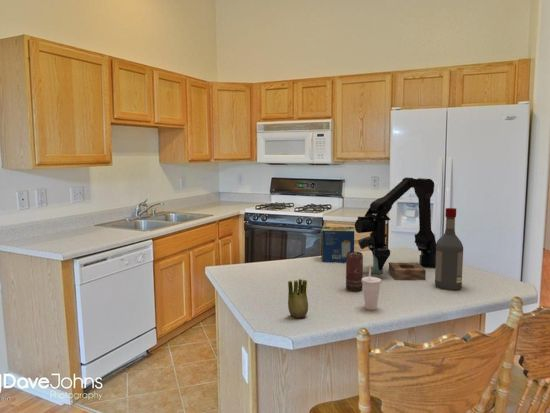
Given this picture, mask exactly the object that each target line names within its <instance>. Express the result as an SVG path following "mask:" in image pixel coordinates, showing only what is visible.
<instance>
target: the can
mask: <svg viewBox="0 0 550 413" xmlns="http://www.w3.org/2000/svg"><path fill="white" fill-rule="evenodd" d="M362 278H364V256H363V253H362V252H361V251H355V250H354V252H348V253H347V255H346V263H345V288H346V290H347V291H350V292H355V293H357V292H361V291H362V290H363V283H362Z"/></svg>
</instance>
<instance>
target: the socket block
mask: <svg viewBox="0 0 550 413" xmlns="http://www.w3.org/2000/svg"><path fill="white" fill-rule="evenodd" d="M426 272H427V270H426V269H425V267H423V266H422V265H420V264H419V262H388V273H389V274H390V275H391V277H392V278H393V280H395V281H426V274H427V273H426Z"/></svg>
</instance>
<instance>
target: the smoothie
mask: <svg viewBox="0 0 550 413" xmlns="http://www.w3.org/2000/svg"><path fill="white" fill-rule="evenodd" d="M371 273H372V266H368V276H363V278H362V283H363V288H362V290H363V297H364V298H363V300H364V308H365V309H366V310H373V311H374V310H377V308H378V301H379V294H380V287H381V285H382V279H381V278H379V277H376V276H372V274H371Z"/></svg>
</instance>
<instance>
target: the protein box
mask: <svg viewBox="0 0 550 413" xmlns="http://www.w3.org/2000/svg"><path fill="white" fill-rule="evenodd" d="M354 251H355V227H354V226H322V227H321V262H322V263H335V262H336V263H339V264H340V263H341V264H342V263H344V264H346V255H347V253H348V252H354ZM336 263H335V264H336Z"/></svg>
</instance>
